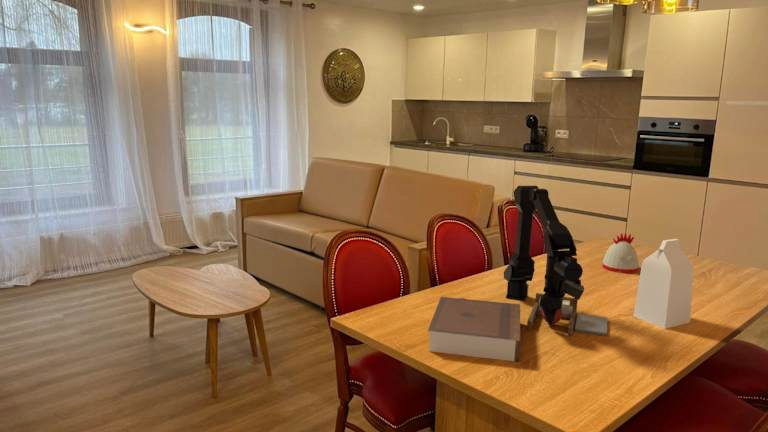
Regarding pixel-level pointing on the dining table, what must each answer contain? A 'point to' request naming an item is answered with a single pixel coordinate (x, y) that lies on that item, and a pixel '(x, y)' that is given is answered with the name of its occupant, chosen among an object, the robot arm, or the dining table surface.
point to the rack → (572, 300)
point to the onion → (556, 318)
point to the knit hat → (621, 256)
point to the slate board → (591, 324)
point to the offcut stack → (565, 309)
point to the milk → (665, 287)
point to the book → (476, 329)
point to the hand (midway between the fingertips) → (551, 320)
